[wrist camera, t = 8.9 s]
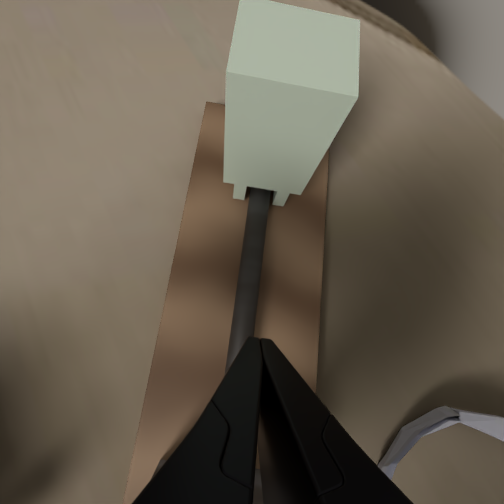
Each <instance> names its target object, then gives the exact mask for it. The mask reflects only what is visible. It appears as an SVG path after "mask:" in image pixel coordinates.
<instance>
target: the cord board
mask: <svg viewBox="0 0 504 504" xmlns="http://www.w3.org/2000/svg"><path fill="white" fill-rule="evenodd" d="M224 135H225V105H222V104H217V103H211V102H206V106H205V111H204V115H203V120H202V125H201V130H200V135H199V139H198V144H197V149H196V154H195V159H194V163H193V168H192V173H191V178H190V183H189V187H188V192H187V197H186V202H185V207H184V211H183V216H182V221H181V226H180V231H179V235H178V240H177V245H176V250H175V255H174V259H173V264H172V269H171V274H170V279H169V283H168V288H167V293H166V298H165V303H164V307H163V312H162V317H161V322H160V327H159V331H158V336H157V341H156V346H155V350H154V355H153V360H152V365H151V370H150V374H149V379H148V384H147V389H146V394H145V398H144V403H143V408H142V413H141V418H140V422H139V427H138V432H137V437H136V442H135V446H134V451H133V456H132V461H131V466H130V470H129V475H128V480H127V485H126V490H125V494H124V499H123V504H132V502H133V501H134V500H135V499H136V497H137V496H138V495H139V494H140V492H141V491H142V490H143V489H144V487H145V486H146V485H147V484H148V483H149V481H150V480H151V479H152V478H153V476H154V475H155V474H156V473H157V471H158V470H159V469H160V468H161V466H162V465H163V464H164V463H165V461H166V460H167V459H168V458H169V457H170V455H171V454H172V453H173V452H174V450H175V449H176V448H177V447H178V445H179V444H180V443H181V442H182V440H183V439H184V438H185V436H186V435H187V434H188V432H189V431H190V430H191V428H192V427H193V426H194V424H195V423H196V421H197V420H198V418H199V417H200V415H201V414H202V412H203V411H204V409H205V407H206V406H207V404H208V402H209V401H210V399H211V398H212V396H213V394H214V393H215V391H216V389H217V388H218V386H219V384H220V383H221V381H222V379H223V377H224V376H225V374H226V372H227V371H228V369H229V367H230V366H231V364H232V362H233V361H234V359H235V357H236V356H237V354H238V352H239V350H240V349H241V347H242V345H243V344H244V342H245V340H246V339H247V337H248V336H251V337H258V338H259V339H260V338H267V339H271V340H273V342H274V343H275V344H276V345H277V347H278V348H279V349H280V350H281V352H282V353H283V354H284V355H285V357H286V358H287V359H288V360H289V362H290V363H291V364H292V365H293V367H294V368H295V369H296V370H297V372H298V373H299V374H300V375H301V377H302V378H303V379H304V380H305V382H306V383H307V384H308V385H309V387H310V388H311V389H312V390H313V392H314V393H315V394H316V381H317V363H318V345H319V326H320V308H321V290H322V272H323V253H324V235H325V217H326V198H327V180H328V162H329V148H328V149H327V151H326V153H325V155H324V156H323V158H322V160H321V161H320V163H319V165H318V166H317V168H316V170H315V171H314V173H313V175H312V177H311V178H310V180H309V182H308V183H307V185H306V187H305V188H304V190H303V192H302V194H301V195H297V194H291V193H290V194H289V196H288V198H287V200H286V202H285V204H284V206H277V205H272V202H273V193H274V191H273V190H267V189H261V188H255V187H249V186H247V188H246V193H245V198H244V200H240V199H234V198H233V192H234V184H231V183H225V182H223V173H224ZM253 493H254V495H253V504H263V495H262V484H261V474H260V463H259V453H258V442H257V455H256V468H255V481H254V491H253Z"/></svg>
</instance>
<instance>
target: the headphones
mask: <svg viewBox="0 0 504 504" xmlns="http://www.w3.org/2000/svg"><path fill="white" fill-rule="evenodd" d="M459 422H460V423H462V424H464V425H467V426H469V427H472V428H474V429H477V430H479V431H481V432H484V433H486V434H489V435H491V436H493V437H495V438H497V439H499V440H501V441H504V417H500V416H497V415H490V414H484V413H478V412H471V411H465V410H459V409H454V408H451V407H450V408H449V407H447V406H442V407H438V408H435V409H433V410H432V411H430V412H428V413H426V414H425V415H423V416H421V417H419V418H417V419H416V420H414V421H412V422H410V423H409V424H407V425H405V426H403V427H402V428H401V429H400V431H399V433H398V434H397V436H396V438H395V439H394V441H393V443H392V444H391V446H390V448H389V450H388V451H387V453H386V455H385V456H384V457H383V459H382V460H381V461H380V463H379V464H378V467H379V468H380V469H381V470H382V471H383V472H384V473H385V474H386V475H387V476H388V478H389V479H390V480H391V479H392V477H393V474H394V471H395V468H396V466H397V464H398V462H399V461H400V460H401V459H402V458H403V457H404V456H405V455H406V453H407V452H408V451H409V450H410V449H411V448H412V447H413V446H414V445H415V443H416V442H417V441H418V440H419V439H420V438H421V437H423V436H425V435H428V434H430V433H433V432H436V431H438V430H441V429H443V428H446V427H449V426H451V425H454V424H456V423H459Z"/></svg>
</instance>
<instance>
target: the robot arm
mask: <svg viewBox="0 0 504 504" xmlns="http://www.w3.org/2000/svg"><path fill="white" fill-rule="evenodd" d="M330 414H331V413H330V411H329V410H328V409H327V408H326V406H325V405H324V404H323V403H322V402H321V400H320V399H319V398H318V397H317V395H316V394H315V393H314V392H313V390H312V389H311V388H310V387H309V385H308V384H307V383H306V382H305V380H304V379H303V378H302V377H301V375H300V374H299V373H298V372H297V370H296V369H295V368H294V367H293V365H292V364H291V363H290V362H289V360H288V359H287V358H286V357H285V355H284V354H283V353H282V352H281V350H280V349H279V348H278V347H277V345H276V344H275V343H274V342H273V340H271V339H267V338H260V339H259V338H258V337H251V336H248V337H247V339H246V340H245V342H244V344H243V345H242V347H241V349H240V350H239V352H238V354H237V356H236V357H235V359H234V361H233V362H232V364H231V366H230V367H229V369H228V371H227V372H226V374H225V376H224V377H223V379H222V381H221V383H220V384H219V386H218V388H217V389H216V391H215V393H214V394H213V396H212V398H211V399H210V401H209V402H208V404H207V406H206V407H205V409H204V411H203V412H202V414H201V415H200V417H199V418H198V420H197V421H196V423H195V424H194V426H193V427H192V428H191V430H190V431H189V432H188V434H187V435H186V436H185V438H184V439H183V440H182V442H181V443H180V444H179V445H178V447H177V448H176V449H175V450H174V452H173V453H172V454H171V455H170V457H169V458H168V459H167V460H166V461H165V463H164V464H163V465H162V466H161V468H160V469H159V470H158V471H157V473H156V474H155V475H154V476H153V478H152V479H151V480H150V481H149V483H148V484H147V485H146V486H145V487H144V489H143V490H142V491H141V492H140V494H139V495H138V496H137V497H136V499H135V500H134V501H133V502H132V504H253V495H254V493H253V491H254V481H255V468H256V455H257V442H258V453H259V463H260V474H261V484H262V495H263V504H413V503H412V502H411V501H410V500H409V499H408V498H407V496H406V495H405V494H404V493H403V492H402V491H401V490H400V489H399V488H398V487H397V486H396V485H395V484H394V483H393V482H392V481H391V480H390V479H389V478H388V476H387V475H386V474H385V473H384V472H383V471H382V470H381V469H380V468H379V467H378V466H377V465H376V464H375V463H374V462H373V461H372V460H371V459H370V458H369V456H368V455H367V454H366V453H365V452H364V451H363V450H362V449H361V448H360V447H359V446H358V444H357V443H356V442H355V441H354V440H353V439H352V438H351V436H350V435H349V434H348V433H347V432H346V431H345V429H344V428H343V427H342V426H341V425H340V423H339V422H338V421H337V420H336V418H335V417H334V416H333V415H332V414H331V415H330Z"/></svg>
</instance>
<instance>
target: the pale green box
mask: <svg viewBox="0 0 504 504" xmlns="http://www.w3.org/2000/svg"><path fill="white" fill-rule="evenodd" d="M359 47H360V20H357V19H353V18H348V17H343V16H339V15H334V14H329V13H325V12H320V11H315V10H311V9H306V8H301V7H297V6H292V5H287V4H283V3H278V2H273V1H269V0H240V2H239V7H238V12H237V17H236V23H235V28H234V33H233V38H232V44H231V49H230V54H229V59H228V64H227V70H226V97H225V135H224V173H223V182H225V183H231V184H234V192H233V198H234V199H240V200H244V198H245V193H246V188H247V186H249V187H255V188H261V189H267V190H273V191H274V193H273V202H272V205H277V206H284V204H285V202H286V200H287V198H288V196H289V194H290V193H291V194H297V195H301V194H302V192H303V190H304V188H305V187H306V185H307V183H308V182H309V180H310V178H311V177H312V175H313V173H314V171H315V170H316V168H317V166H318V165H319V163H320V161H321V160H322V158H323V156H324V155H325V153H326V151H327V149H328V148H329V146H330V144H331V143H332V141H333V139H334V138H335V136H336V134H337V133H338V131H339V129H340V127H341V126H342V124H343V122H344V121H345V119H346V117H347V116H348V114H349V112H350V110H351V109H352V107H353V105H354V104H355V102H356V100H357V99H358V92H359Z"/></svg>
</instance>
